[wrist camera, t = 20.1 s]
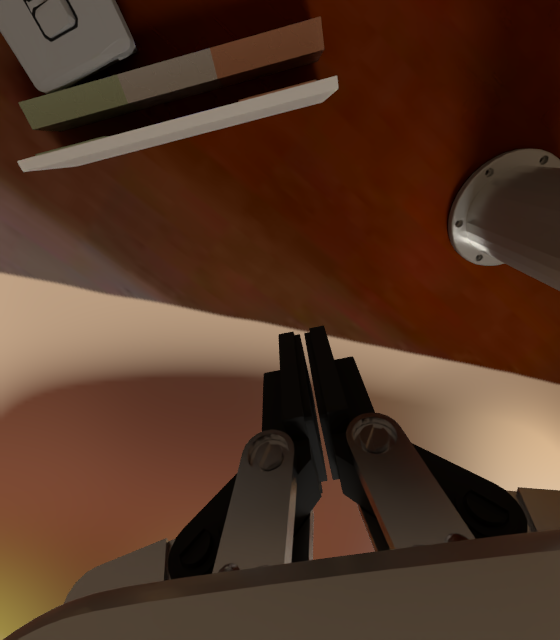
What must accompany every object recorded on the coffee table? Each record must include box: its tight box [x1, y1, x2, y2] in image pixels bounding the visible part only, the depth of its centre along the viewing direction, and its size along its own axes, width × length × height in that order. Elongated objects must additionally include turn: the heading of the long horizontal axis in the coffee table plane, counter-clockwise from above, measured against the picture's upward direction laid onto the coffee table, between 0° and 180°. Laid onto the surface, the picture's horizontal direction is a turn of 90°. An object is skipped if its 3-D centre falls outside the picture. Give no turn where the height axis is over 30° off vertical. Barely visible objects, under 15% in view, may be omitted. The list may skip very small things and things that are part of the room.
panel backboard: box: [17, 76, 338, 172], centre depth 27 cm, size 26×1×8 cm, turn 102°
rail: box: [19, 16, 324, 132], centre depth 27 cm, size 26×2×4 cm, turn 102°
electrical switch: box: [0, 0, 138, 94], centre depth 24 cm, size 9×5×9 cm
